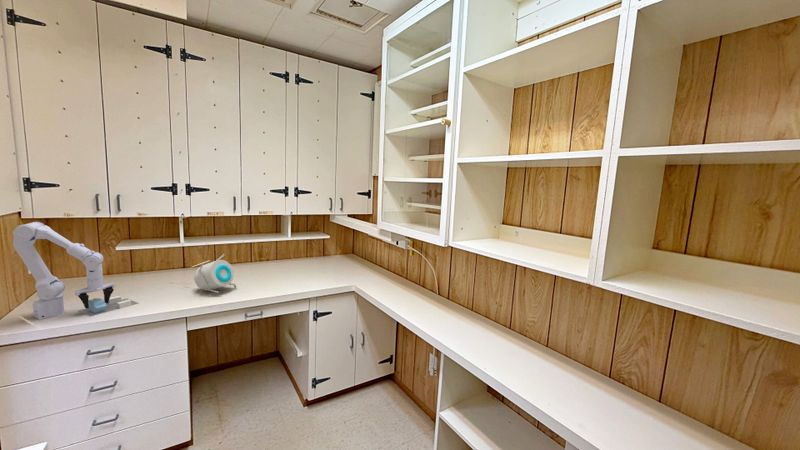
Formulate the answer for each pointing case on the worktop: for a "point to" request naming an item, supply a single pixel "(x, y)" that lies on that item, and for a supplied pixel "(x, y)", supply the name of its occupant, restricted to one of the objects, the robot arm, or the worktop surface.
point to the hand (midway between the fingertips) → (96, 305)
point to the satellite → (214, 275)
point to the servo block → (96, 305)
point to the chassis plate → (111, 305)
